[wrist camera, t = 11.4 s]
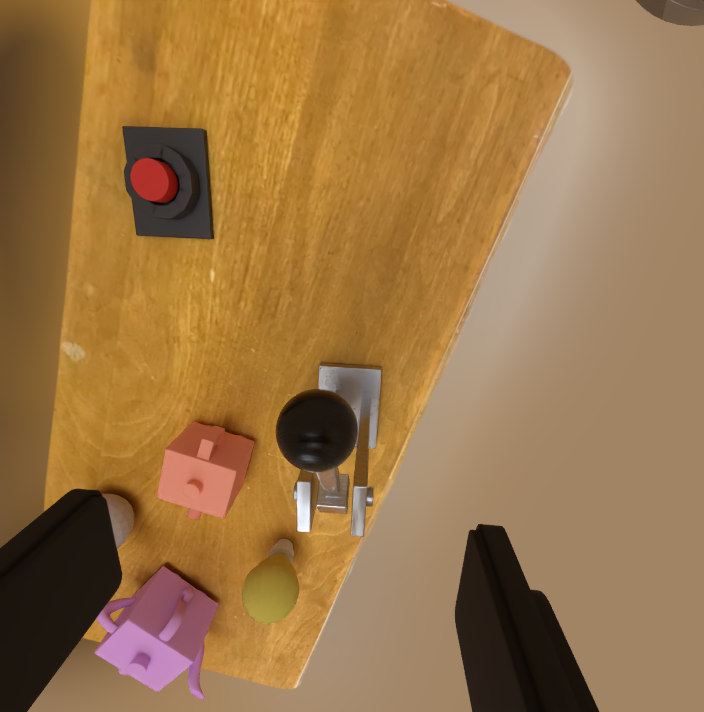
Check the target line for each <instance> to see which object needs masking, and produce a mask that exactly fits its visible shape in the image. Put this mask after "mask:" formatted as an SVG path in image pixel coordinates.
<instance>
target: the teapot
mask: <svg viewBox="0 0 704 712" xmlns="http://www.w3.org/2000/svg"><path fill="white" fill-rule="evenodd" d="M218 606H219V604H217V603H216V602H215V601H213V600H212V599H210V598H209V597H207V595H206V594H205V593H204V592H202V591H199V590H197V589H196V588H194V587H193V586H192V585H190V584H189V583H187V582H186V581H184V580H183V579H181V578H180V576H179V575H178V574H177V573H173V572H171V571H170V570H168V569H167V568H165V567H164V566H162V567H161V568H160V569H159V570H158V571H157V572H156V573H155V574H154V575H153V576H152V577H151V578H150V579H149V580H148V581H147V582H146V583H145V584H144V585H143V586H142V587H141V588H140V589H139V590H138V591H137V592H136V593H135V594H134V595H133V596H132V597H131V598H123V599H117V600H113V601H110V602H108V603H107V605H106V606H105V607H104V609H103V610H102V611H101V613H100V614H99V615H98V617H97V620H98V622H99V623H100V624H101V626H102V627H103V628H105V629H106V630H107V631H108V633H107V634H106V636H105V637H104V638H103V640H102V641H101V643H100V644H99V646H98V647H97V649H96V650H95V652H94V653H95V654H97V655H98V656H100V657H101V658H103V659H105V660H106V661H108V662H109V663H111V664H113V665H114V666H116V667H117V668H119V669H118V671H119V673H120V674H122V675H127V674H129V675H130V676H132V677H134V678H135V679H137V680H139V681H140V682H142V683H143V684H145V685H146V686H148V687H150V688H151V689H153V690H155V691H156V692H159V691H160V690H161V689H162V688H163V687H165V686H166V685H167V684H168V683H170V682H171V681H172V680H173V679H174V678H176V677H177V676H178V675H179V674H180V673H182V672H183V671H184V670H185V669H186V668H188V667H189V674H188V685H189V689H190V691H191V693H192V694H193V695H194V696H196V697H197V698H199V699H204V694H203V692H202V690H201V688H200V683H199V675H200V669H201V664H202V660H203V655H204V639H205V636H206V634H207V632H208V629H209V627H210V625H211V622H212V620H213V618H214V615H215V613H216V611H217V608H218ZM123 607H125V608H124V609H123V611H122V612H121V614H120V615H119V616H118V618H117V619H116V621H115V622H114V621H113V620H112V619H111V618H110V614H111V613H112V612H114V611H116V610H118V609H121V608H123Z"/></svg>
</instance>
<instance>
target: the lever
mask: <svg viewBox="0 0 704 712" xmlns="http://www.w3.org/2000/svg"><path fill="white" fill-rule="evenodd" d="M357 436H358V424H357V419H356V416H355V413H354V411H353V409H352V408H351V406H350V405H349V404H348V402H347V401H346V400H345V399H343V398H342V397H341V396H340V395H338V394H336V393H334V392H332V391H328V390H323V389H312V390H307V391H304V392H301V393H299V394H297V395H296V396H294V397H293V398H291V399H290V400H289V401H288V402H287V403H286V405H285V406H284V407H283V409H282V410H281V412H280V415H279V417H278V420H277V425H276V438H277V443H278V446H279V448H280V451H281V452H282V454H283V456H284V457H285V458H286V459H287V460H288V461H289V462H290V463H291V464H292V465H294V466H295V467H297V468H299V469H301V470H304V471H307V472H316V473H317V475H318V478H319V486H318V494H317V502H316V506H317V508H318V510H319V511H320V512H327V513H339V514H347V510H348V497H349V485H350V483H349V475H348V474H339V470H338V466H339V465H340V464H342V463H343V462H344V461H345V460H346V459H347V458H348V457H349V456H350V454H351V452H352V451H353V449H354V447H355V444H356V441H357Z"/></svg>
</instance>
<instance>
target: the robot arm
mask: <svg viewBox="0 0 704 712" xmlns="http://www.w3.org/2000/svg"><path fill="white" fill-rule="evenodd" d="M121 580H122V571H121V566H120V561H119V557H118V552H117V547H116V542H115V537H114V533H113V528H112V523H111V518H110V514H109V509H108V504H107V500H106V499H105V498H104V497H103V496H102V494H101V492H99V491H96V490H86V489H73V490H71V491H69V492H68V493H67V494H65V495H64V496H63V497H62V498H61V499H59V500H58V501H57V502H56V503H55V504H53V505H52V506H51V507H50V508H48V509H47V510H46V511H45V512H44V513H42V514H41V515H40V516H39V517H38V518H36V519H35V520H34V521H33V522H32V523H30V524H29V525H28V526H27V527H25V528H24V529H23V530H22V531H21V532H19V533H18V534H17V535H16V536H15V537H14V538H12V539H11V540H10V541H9V542H8V543H6V544H5V545H4V546H2V547H1V548H0V712H27V711H28V710H29V708H30V707H31V706H32V704H33V703H34V702H35V700H36V699H37V698H38V696H39V695H40V694H41V692H42V691H43V690H44V688H45V687H46V685H47V684H48V683H49V681H50V680H51V679H52V677H53V676H54V675H55V673H56V672H57V670H58V669H59V668H60V667H61V665H62V664H63V663H64V661H65V660H66V658H67V657H68V656H69V654H70V653H71V652H72V650H73V649H74V648H75V646H76V645H77V644H78V642H79V641H80V640H81V638H82V637H83V636H84V634H85V633H86V632H87V630H88V629H89V627H90V626H91V625H92V623H93V622H94V621H95V619H96V618H97V617H98V615H99V614H100V613H101V611H102V610H103V609H104V607H105V606H106V605H107V603H108V602H109V601H110V599H111V598H112V596H113V595H114V594H115V592H116V591H117V589H118V588H119V586H120V583H121ZM455 623H456V629H457V634H458V639H459V644H460V650H461V655H462V660H463V665H464V670H465V676H466V681H467V686H468V692H469V696H470V702H471V707H472V712H599V710H598V708H597V706H596V703H595V701H594V699H593V697H592V695H591V692H590V690H589V688H588V686H587V684H586V682H585V679H584V677H583V675H582V673H581V671H580V668H579V666H578V664H577V662H576V660H575V657H574V655H573V653H572V651H571V649H570V647H569V645H568V642H567V640H566V638H565V636H564V633H563V631H562V629H561V627H560V625H559V622H558V620H557V618H556V616H555V614H554V611H553V609H552V607H551V605H550V603H549V601H548V599H547V598H546V596H545V595H544V594H543V593H542V592H541V591H538V590H530V588H529V586H528V583H527V581H526V579H525V576H524V574H523V571H522V569H521V567H520V564H519V562H518V559H517V557H516V555H515V552H514V550H513V547H512V545H511V543H510V540H509V538H508V536H507V533H506V531H505V529H504V528H503V527H502V526H495V525H483V524H478V526H477V528H476V530H470V531H469V535H468V540H467V546H466V551H465V556H464V562H463V567H462V573H461V579H460V585H459V590H458V595H457V601H456V607H455Z"/></svg>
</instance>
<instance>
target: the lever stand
mask: <svg viewBox="0 0 704 712" xmlns="http://www.w3.org/2000/svg"><path fill="white" fill-rule="evenodd" d="M381 372H382V367H381V366H366V365H350V364H334V363H320V365H319V389H323V390H328V391H332V392H334V393H336V394H338V395H340V396H341V397H342V398H343V399H345V400H346V401H347V402H348V404H349V405H350V406H351V408H352V409H353V411H354V413H355V416H356V419H357V424H358V436H357V441H356V444H355V447H357V452H356V462H355V472H354V483H353V499H352V518H351V536H360V537H364V530H365V515H366V506H371V507H372V506H373V487H367V483H368V458H369V448H376V441H377V427H378V413H379V399H380V385H381ZM318 486H319V478H318V475H317V473H316V472H307V471H304V470H301V471H300V474H299V477H298V480H297V481H296V483H295V486H294V494H293V497H294V500H297V531H299V532H310V531H311V527H312V522H313V518H314V513H315V509H316V502H317V494H318Z"/></svg>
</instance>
